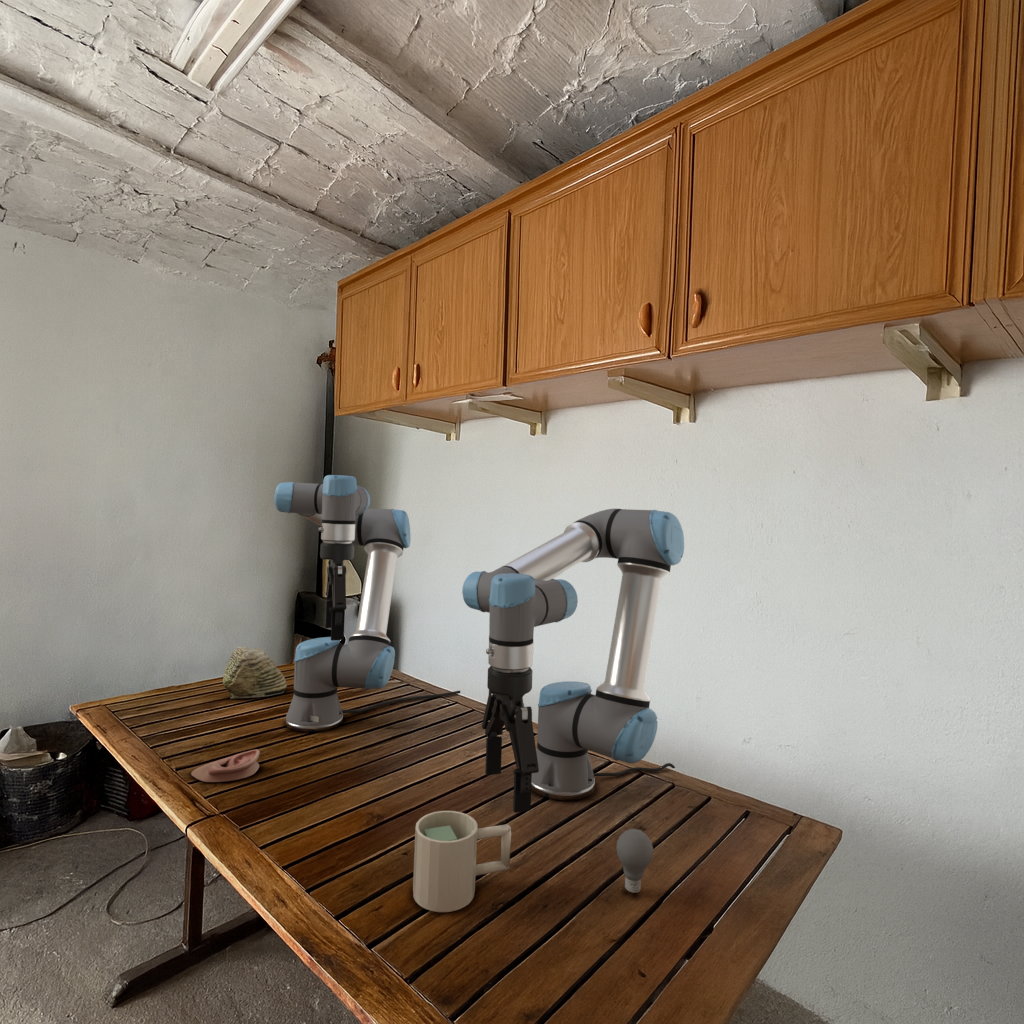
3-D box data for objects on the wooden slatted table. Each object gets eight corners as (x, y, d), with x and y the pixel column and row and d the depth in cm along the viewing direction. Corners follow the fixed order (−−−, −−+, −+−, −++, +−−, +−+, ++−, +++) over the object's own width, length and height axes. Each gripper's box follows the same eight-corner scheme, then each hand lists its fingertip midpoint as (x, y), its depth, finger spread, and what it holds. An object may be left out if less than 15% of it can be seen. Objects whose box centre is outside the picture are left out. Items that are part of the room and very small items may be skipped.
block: (421, 883, 104) (423, 829, 104) (447, 878, 106) (450, 825, 106) (427, 899, 100) (430, 843, 100) (455, 894, 102) (457, 838, 101)
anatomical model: (182, 760, 139) (216, 741, 150) (181, 778, 139) (216, 758, 150) (236, 768, 136) (267, 748, 147) (235, 786, 136) (266, 765, 147)
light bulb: (610, 879, 108) (613, 822, 108) (644, 879, 109) (647, 822, 109) (619, 902, 102) (622, 840, 102) (655, 901, 103) (658, 840, 103)
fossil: (218, 695, 195) (220, 647, 195) (278, 685, 208) (279, 640, 207) (228, 703, 189) (230, 653, 188) (289, 692, 201) (290, 645, 201)
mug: (420, 917, 97) (423, 846, 97) (407, 880, 106) (409, 815, 106) (519, 897, 103) (522, 830, 102) (498, 863, 112) (501, 802, 112)
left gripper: (316, 537, 157) (313, 623, 157) (325, 546, 133) (321, 646, 134) (347, 538, 159) (344, 622, 160) (361, 546, 136) (358, 645, 136)
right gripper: (466, 649, 116) (463, 763, 117) (517, 691, 93) (512, 833, 94) (505, 647, 119) (501, 758, 120) (563, 687, 96) (558, 824, 97)
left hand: (334, 633), depth 147 cm, fingers open, 13 cm apart
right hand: (506, 791), depth 107 cm, fingers open, 13 cm apart
